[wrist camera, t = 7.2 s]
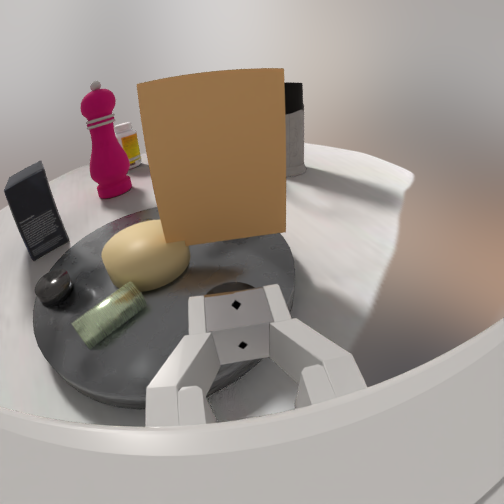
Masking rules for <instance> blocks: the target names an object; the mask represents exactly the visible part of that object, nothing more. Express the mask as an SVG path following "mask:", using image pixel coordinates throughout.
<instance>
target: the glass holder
mask: <svg viewBox="0 0 504 504" xmlns="http://www.w3.org/2000/svg"><path fill="white" fill-rule="evenodd" d="M284 87H285V123H286V177H291V176H297V175H300V174H303V173H304V172H306V167H305V165H304V105H303V96H302V95H303V90H302V83H284Z"/></svg>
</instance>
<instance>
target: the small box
mask: <svg viewBox="0 0 504 504" xmlns="http://www.w3.org/2000/svg"><path fill="white" fill-rule="evenodd" d="M4 192H5V195H6V198H7V201H8V204H9V207H10V210H11V212H12V215H13V218H14V220H15V222H16V225H17V227H18V230H19V232H20V234H21V237H22V239H23V241H24V243H25V245H26V247H27V250H28V252H29V254H30V256H31V258H32V259H33V261H34V260H36V259H38V258H40V257H41V256H43V255H45V254H46V253H48V252H50V251H52V250H54V249H55V248H57V247H59V246H61V245H63V244H64V243H66V242H68V241H69V238H68V235H67V233H66V230H65V228H64V226H63V223H62V220H61V218H60V215H59V212H58V210H57V207H56V204H55V201H54V198H53V195H52V192H51V190H50V186H49V183H48V180H47V177H46V173H45V170H44V167H43V164H42V162H41V161H39V162H37V163H35V164H33V165H31V166H29V167H27V168H25V169H24V170H22V171H20V172H18V173H16V174H14V175H13V176H11V177H9V180H8V182H7V185H6V187H5V189H4Z"/></svg>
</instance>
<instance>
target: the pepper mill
mask: <svg viewBox="0 0 504 504" xmlns="http://www.w3.org/2000/svg"><path fill="white" fill-rule="evenodd" d="M90 87H91V90H92V92H90V93H88V94H87V95H86V96H85V97H84V99H83V100H82V102H81V112H82V115H83V116H84V117H86V118H87V120H88V121H87V122H86V124H87V129H89V130H90V134H91V138H92V154H91V160H90V174H91V178H92V179H93V180H94V181H95V182H97V183H98V184H99V185H98V187H97V191H98V194H99V197H100V198H103V199H106V198H112V197H116V196H119V195H121V194H123V193H125V192H127V191H128V190H129V189H130V188H131V187H132V184H131V180H130V177H129V176H126V174H127V172H128V170H129V168H130V162H129V159H128V156H127V154H126V152H125V151H124V150H123V148H122V147H121V145H120V144H119V142H118V140H117V138H116V136H115V132H114V126H113V122H114V121H115V119H114V117H113V116H114V114H112V110H113V108H114V106H115V97H114V95H113V93H112V92H111V91H109V90H107V89H100V87H101V84H100V82H98V81H95V82H93V83H92V84H91V86H90Z"/></svg>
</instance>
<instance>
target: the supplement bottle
mask: <svg viewBox="0 0 504 504" xmlns="http://www.w3.org/2000/svg"><path fill="white" fill-rule="evenodd" d="M114 131H115V133H116V134H115V136H116V138H117V140H118V142H119V144H120V145H121V147H122V148H123V150H124V151H125V152H126V154H127V156H128V159H129V162H130V168H129V169H131V168H134V167H137V166H138V165H140V164H141V156H140V150H139V145H138V139H137V134H136V130H134V129H132V125H131V122H126V123H122V124H119V125H116V126H114Z"/></svg>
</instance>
